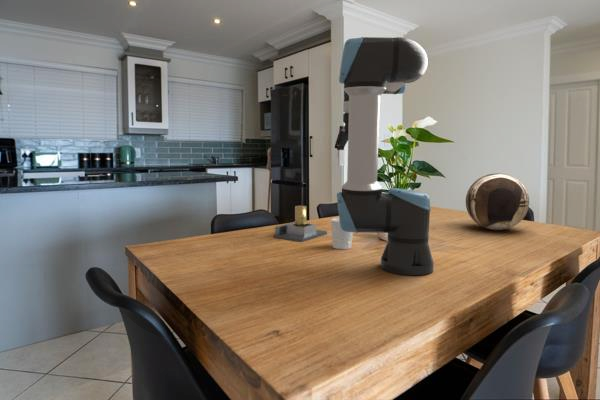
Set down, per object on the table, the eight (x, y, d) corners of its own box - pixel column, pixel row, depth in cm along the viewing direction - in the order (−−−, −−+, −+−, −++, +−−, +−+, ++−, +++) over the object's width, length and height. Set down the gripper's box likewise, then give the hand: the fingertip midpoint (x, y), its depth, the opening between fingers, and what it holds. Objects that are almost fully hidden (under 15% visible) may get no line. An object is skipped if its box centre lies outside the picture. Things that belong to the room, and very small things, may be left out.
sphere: (467, 233, 166) (470, 174, 163) (461, 223, 190) (464, 171, 187) (533, 237, 159) (538, 175, 156) (519, 226, 183) (523, 172, 180)
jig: (302, 241, 148) (302, 229, 148) (273, 237, 156) (273, 225, 156) (327, 234, 163) (327, 222, 162) (299, 229, 171) (299, 219, 170)
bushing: (302, 234, 155) (302, 207, 154) (292, 233, 157) (292, 206, 156) (308, 233, 159) (308, 206, 157) (299, 231, 161) (299, 205, 160)
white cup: (327, 248, 139) (327, 220, 138) (335, 243, 146) (336, 217, 145) (348, 250, 136) (348, 222, 134) (356, 246, 142) (356, 219, 141)
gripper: (381, 110, 148) (379, 166, 150) (341, 115, 169) (340, 165, 172) (366, 109, 144) (364, 167, 147) (326, 114, 165) (326, 165, 168)
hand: (351, 166), depth 159 cm, fingers open, 13 cm apart
